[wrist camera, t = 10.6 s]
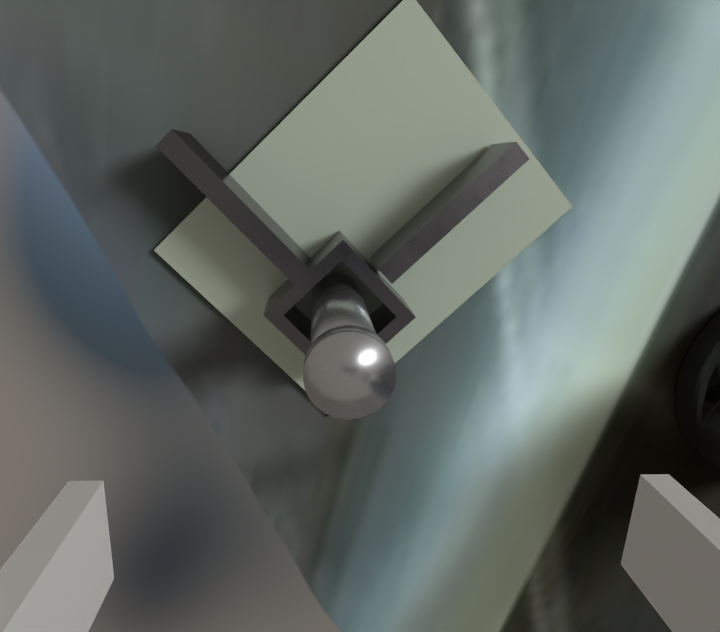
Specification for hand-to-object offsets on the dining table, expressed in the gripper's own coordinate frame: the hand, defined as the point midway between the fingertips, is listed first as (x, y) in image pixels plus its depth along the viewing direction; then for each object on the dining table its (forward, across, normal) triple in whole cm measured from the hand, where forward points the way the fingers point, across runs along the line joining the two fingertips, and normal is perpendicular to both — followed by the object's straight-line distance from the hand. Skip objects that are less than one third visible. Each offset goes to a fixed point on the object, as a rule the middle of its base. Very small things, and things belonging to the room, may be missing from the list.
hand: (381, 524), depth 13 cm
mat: (+22, -2, -5) cm, 23 cm away
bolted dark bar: (+22, -6, -6) cm, 23 cm away
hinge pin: (+22, 0, 0) cm, 22 cm away
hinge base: (+22, +4, -4) cm, 22 cm away
